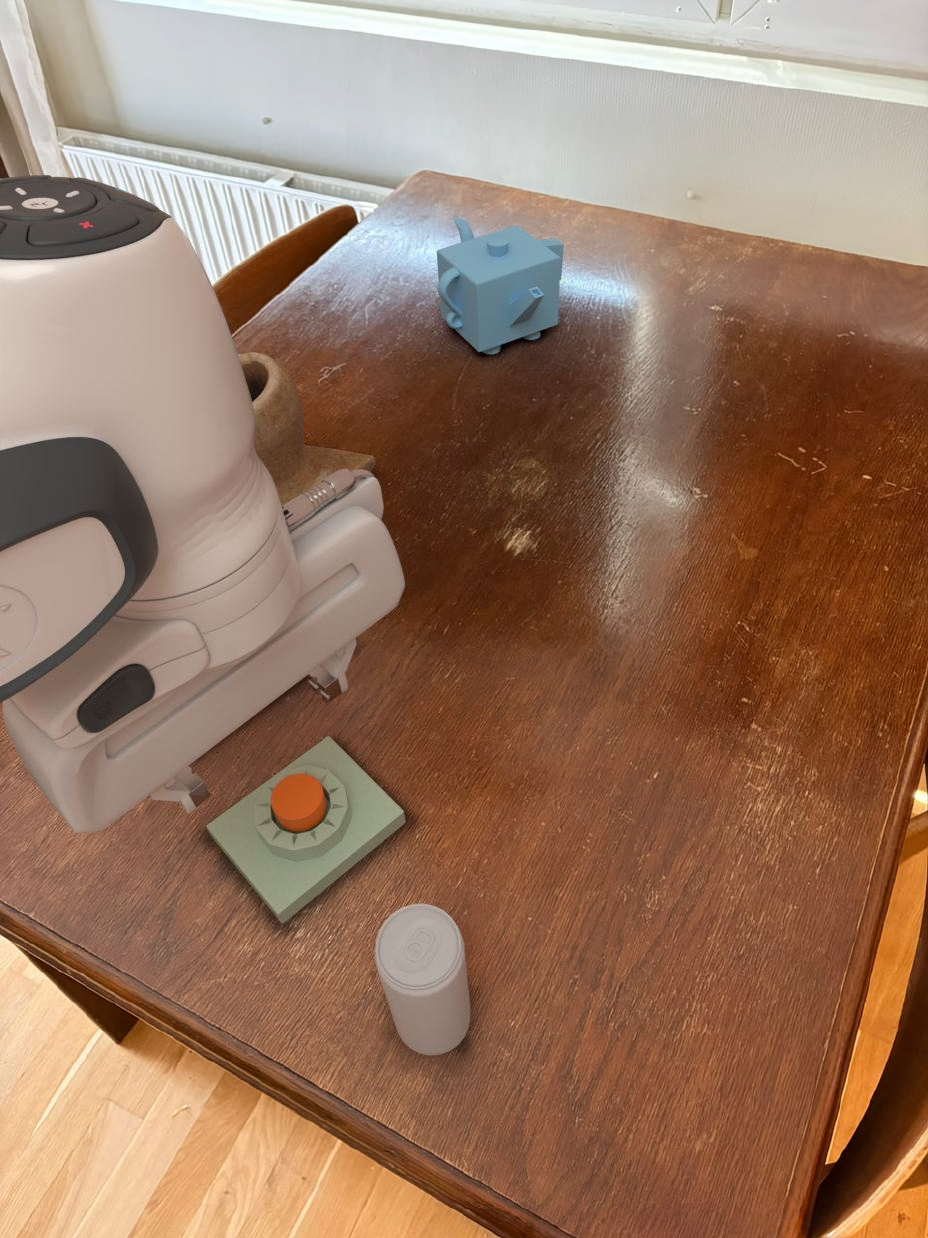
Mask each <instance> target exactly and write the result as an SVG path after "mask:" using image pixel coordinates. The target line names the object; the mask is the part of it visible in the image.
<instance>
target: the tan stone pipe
mask: <svg viewBox="0 0 928 1238" xmlns="http://www.w3.org/2000/svg"><path fill="white" fill-rule="evenodd" d="M238 357H239V360H240V363H241V366H242V369H243V372H244V376H245V379H246V383H247V386H248V390H249V393H250V396H251V400H252V404H253V409H254V417H255V430H254V448H255V451H256V453H257V455H258V457H259V458H260V460H261V461H262V462H263V463H264V465H265V466H266V468H267V469H268V471H269V473H270V474H271V476H272V478H273V481H274V483H275V486H276V488H277V492H278V496H279V499H280V502H281V506H283V505H285V504H286V503H288V502H289V501H291V500H292V499H294V498H295V497H297V496H299V495H301V494H303V493H305V492H307V491H309V490H312V489H313V488H315V487H316V486H318V485H319V484H321V483H322V481H323V480H324V479H325V478H326V477H328V476H329V475H331V474H332V473H334V472H336V471H339V470H341V469H348V470H349V471H354V470H361V469H362V470H367V471H369V472H371V473H372V472H373V469H374V468H375V466H376V458H375V457H374V455H370V454H367V453H366V454H365V453H359V452H354V451H348V450H343V449H337V448H329V447H322V446H316V445H315V446H314V445H307V444H305V426H304V423H305V422H304V421H305V420H304V411H303V406H302V401H301V398H300V394H299V390H298V387H297V385H296V384H295V381H294V379H293V377H292V375H291V374H290V373H289V372H288V370H287V369H286V367H284V365H282V364H281V363H280V362H279V361H278V360H276V359H275V358H273V357H271V356H269V355H268V354H265V353H260V352H256V351H251V352H245V353H238Z"/></svg>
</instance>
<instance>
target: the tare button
mask: <svg viewBox="0 0 928 1238" xmlns="http://www.w3.org/2000/svg"><path fill="white" fill-rule="evenodd" d="M271 806H272V809H273V811H274V813H275V816H276V818H277V820H278V822H279V823H280V825H281V826H282V827H284V828H285V829H287V830H290V831H296V832H299V831H305V830H308V829H311V828H313V827H314V826H316V825H317V824H318V823H319V822H320V821H321V820H322V819H323V817H324V815H325V813H326V809H327V801H326V798H325V795H324V791H323V788H322V786H321V784H320V782H319V781H318V780H317V779H316V778H314V777H313V776H311V775H308V774H293V775H290V776H288V777H286V778H284V779H282V780H281V781H280V782H279V783H278V784H277V785H276V786H275V788H274V790H273V792H272V795H271Z"/></svg>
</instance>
